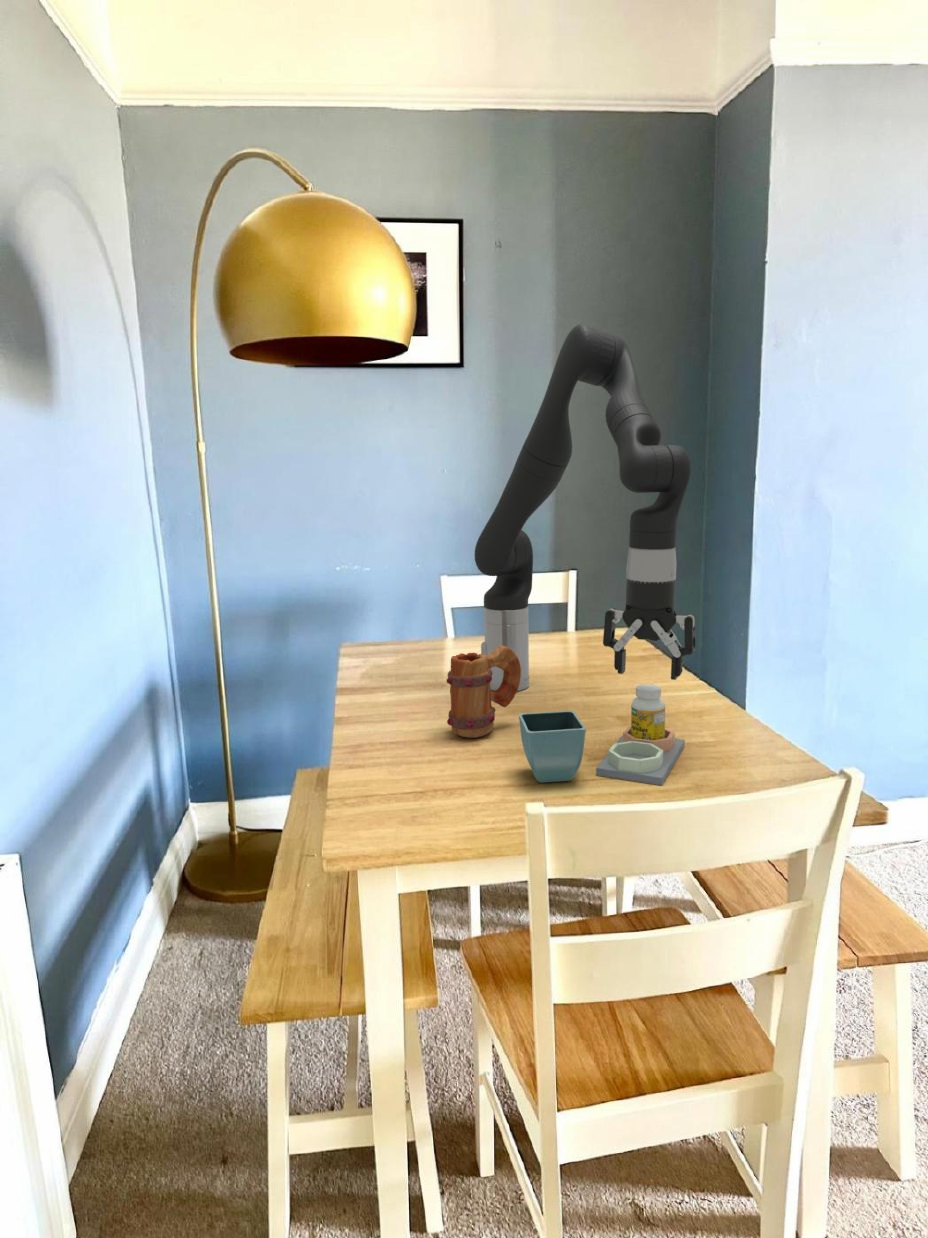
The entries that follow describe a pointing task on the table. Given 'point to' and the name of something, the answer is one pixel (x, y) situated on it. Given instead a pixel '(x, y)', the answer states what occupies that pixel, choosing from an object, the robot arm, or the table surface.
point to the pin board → (641, 758)
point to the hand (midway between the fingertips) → (647, 675)
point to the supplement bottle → (648, 713)
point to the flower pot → (553, 744)
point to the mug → (480, 690)
